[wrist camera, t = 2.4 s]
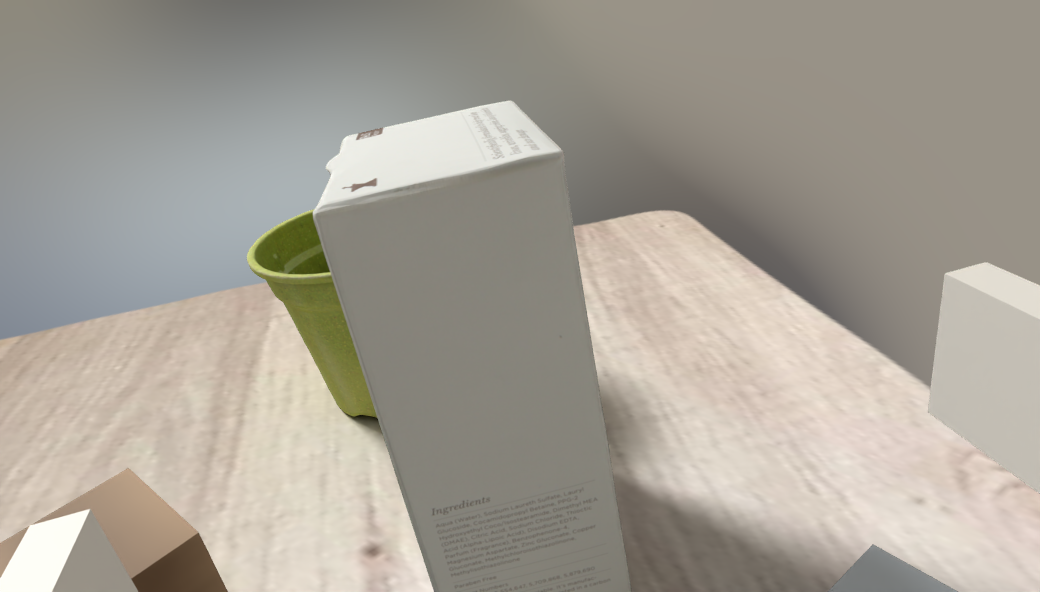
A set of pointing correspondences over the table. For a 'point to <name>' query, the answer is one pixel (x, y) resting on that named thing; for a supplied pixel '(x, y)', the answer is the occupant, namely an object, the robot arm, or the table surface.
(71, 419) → the table surface
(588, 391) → the skincare box
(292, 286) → the plant pot
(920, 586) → the flat blue-grey brick
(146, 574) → the walnut block
